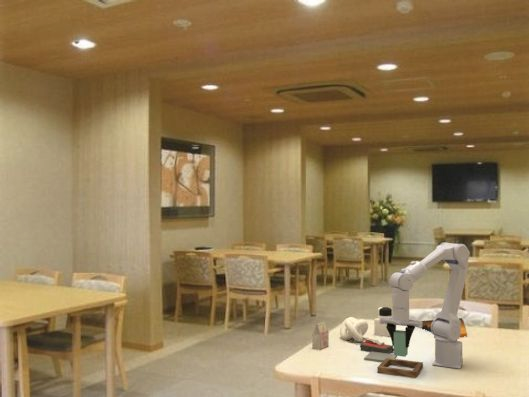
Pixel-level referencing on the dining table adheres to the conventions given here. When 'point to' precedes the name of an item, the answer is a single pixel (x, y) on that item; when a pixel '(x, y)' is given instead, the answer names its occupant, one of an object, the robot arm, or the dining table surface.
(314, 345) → the tea box
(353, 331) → the cream rounded sculpture
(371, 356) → the ceramic tile
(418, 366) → the brown square frame
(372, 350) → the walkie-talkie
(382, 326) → the medicine bottle
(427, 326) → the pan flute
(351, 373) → the dining table surface
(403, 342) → the green block
